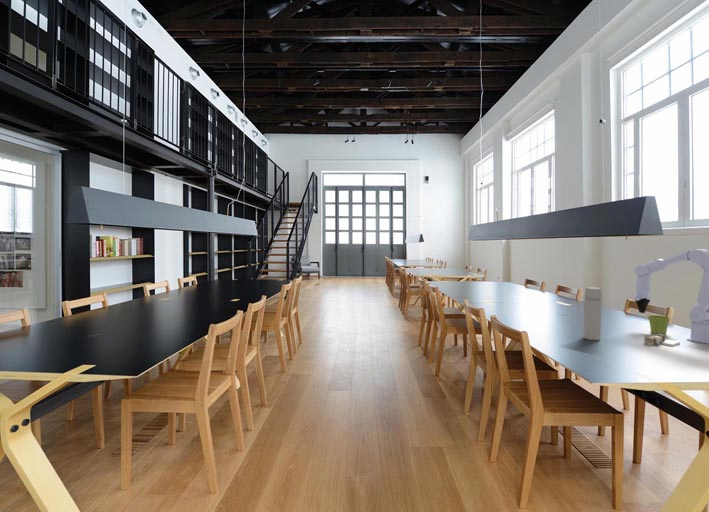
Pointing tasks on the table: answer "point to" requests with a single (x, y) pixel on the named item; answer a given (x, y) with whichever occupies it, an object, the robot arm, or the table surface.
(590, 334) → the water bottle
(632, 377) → the table surface
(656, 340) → the stop post
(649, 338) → the oak arm
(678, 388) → the table surface
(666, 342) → the mounting plate
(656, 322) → the plant pot
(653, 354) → the table surface
